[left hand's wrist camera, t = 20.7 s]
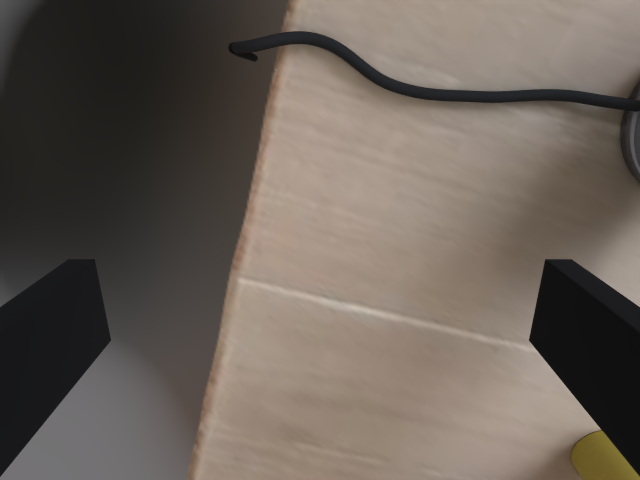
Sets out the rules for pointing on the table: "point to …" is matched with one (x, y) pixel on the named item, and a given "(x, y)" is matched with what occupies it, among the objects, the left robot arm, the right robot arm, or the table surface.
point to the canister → (600, 459)
